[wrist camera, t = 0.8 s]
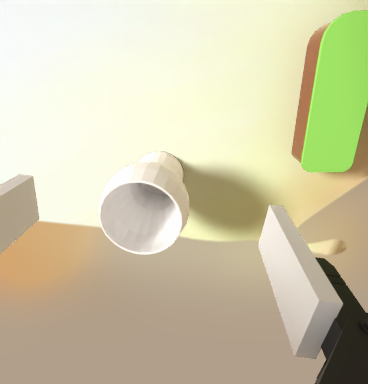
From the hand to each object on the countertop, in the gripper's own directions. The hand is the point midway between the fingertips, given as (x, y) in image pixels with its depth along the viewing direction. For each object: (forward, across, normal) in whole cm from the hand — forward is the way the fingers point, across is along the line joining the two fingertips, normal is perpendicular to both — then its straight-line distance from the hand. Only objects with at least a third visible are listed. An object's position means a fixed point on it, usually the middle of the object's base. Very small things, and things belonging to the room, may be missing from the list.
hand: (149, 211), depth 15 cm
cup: (+27, -3, -8) cm, 29 cm away
